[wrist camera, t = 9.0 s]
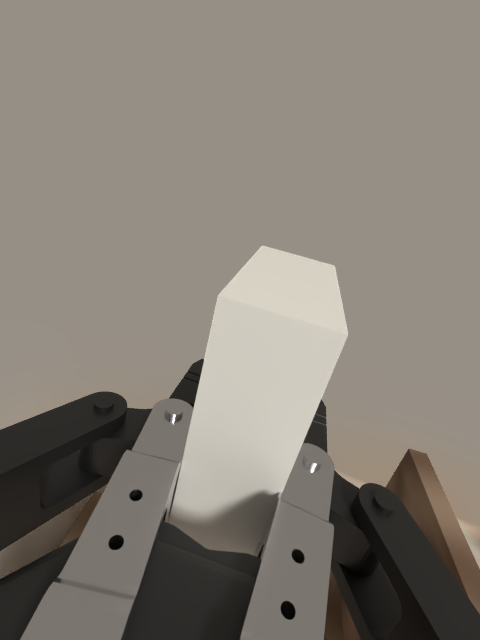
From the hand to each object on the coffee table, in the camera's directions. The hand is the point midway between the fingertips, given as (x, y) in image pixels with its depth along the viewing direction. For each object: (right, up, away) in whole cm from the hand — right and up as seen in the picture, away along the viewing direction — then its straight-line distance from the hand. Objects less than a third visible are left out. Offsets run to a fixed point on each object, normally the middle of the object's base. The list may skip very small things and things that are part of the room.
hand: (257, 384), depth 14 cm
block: (-3, -9, +1) cm, 9 cm away
